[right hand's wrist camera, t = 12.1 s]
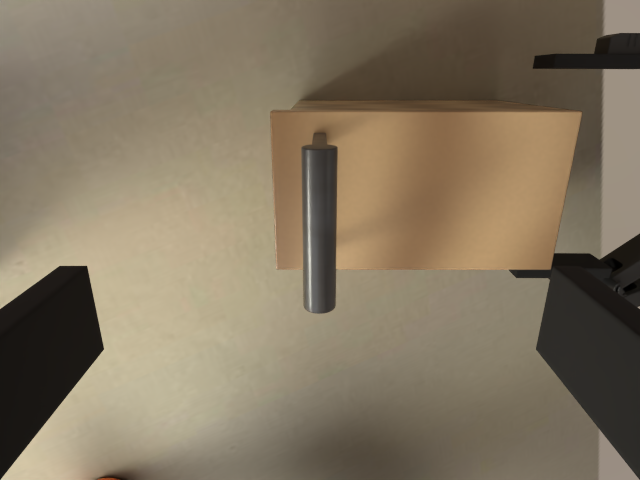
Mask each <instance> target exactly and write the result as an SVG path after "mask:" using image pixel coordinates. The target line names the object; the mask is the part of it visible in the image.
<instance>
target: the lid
mask: <svg viewBox="0 0 640 480" xmlns="http://www.w3.org/2000/svg"><path fill="white" fill-rule="evenodd" d="M581 117H582V111H575V110H272V111H271V112H270V119H271V145H272V171H273V197H274V224H275V250H276V269H303V299H304V308H305V309H306V310H307V311H309V312H312V313H327V312H330V311H332V310H333V309H334V308H335V305H336V269H435V270H550V269H551V266H552V261H553V256H554V251H555V246H556V241H557V236H558V231H559V226H560V221H561V216H562V211H563V206H564V201H565V196H566V191H567V186H568V181H569V177H570V172H571V167H572V162H573V157H574V152H575V147H576V142H577V137H578V132H579V127H580V122H581Z"/></svg>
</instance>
